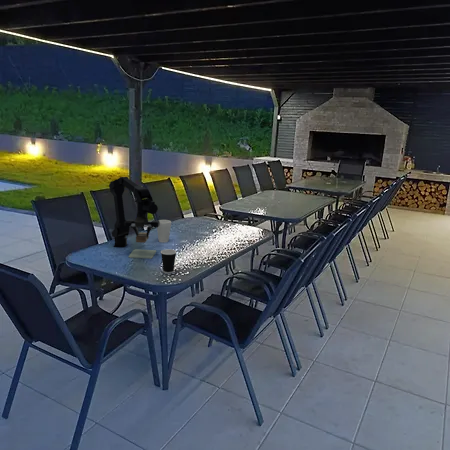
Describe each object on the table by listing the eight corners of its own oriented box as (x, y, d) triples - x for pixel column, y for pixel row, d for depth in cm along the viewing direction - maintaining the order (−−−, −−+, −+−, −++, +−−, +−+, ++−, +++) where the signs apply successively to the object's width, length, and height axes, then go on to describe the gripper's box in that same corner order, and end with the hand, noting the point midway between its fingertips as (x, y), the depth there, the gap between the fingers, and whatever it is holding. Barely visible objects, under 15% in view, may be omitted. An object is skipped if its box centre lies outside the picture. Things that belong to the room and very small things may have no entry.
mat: (128, 257, 221) (128, 256, 221) (134, 250, 234) (134, 249, 233) (151, 258, 221) (151, 257, 221) (156, 251, 234) (156, 250, 233)
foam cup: (158, 243, 249) (158, 223, 246) (154, 239, 257) (154, 220, 254) (173, 242, 254) (173, 222, 250) (168, 238, 261) (168, 219, 258)
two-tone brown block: (140, 237, 230) (140, 232, 229) (148, 237, 230) (148, 232, 229) (136, 242, 220) (135, 237, 220) (144, 242, 220) (144, 237, 220)
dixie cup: (178, 274, 200) (178, 253, 197) (162, 275, 197) (162, 254, 194) (173, 268, 207) (173, 248, 204) (158, 270, 204) (158, 249, 201)
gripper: (121, 213, 213) (122, 241, 217) (156, 214, 213) (156, 242, 217) (127, 209, 224) (127, 235, 228) (160, 210, 224) (159, 237, 228)
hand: (142, 237), depth 225 cm, fingers closed on two-tone brown block, 5 cm apart
